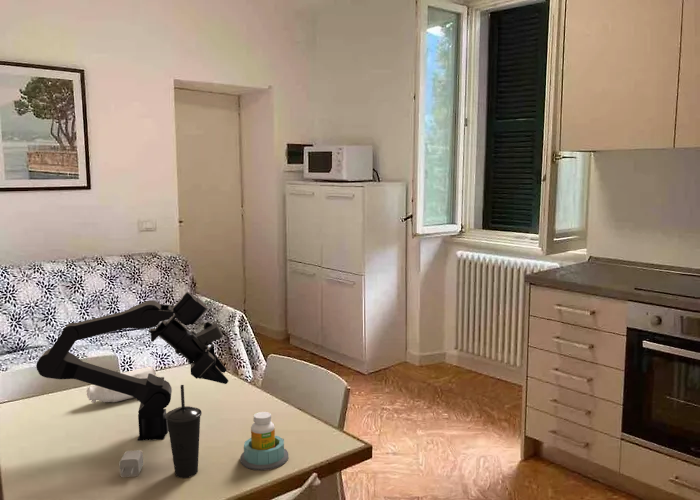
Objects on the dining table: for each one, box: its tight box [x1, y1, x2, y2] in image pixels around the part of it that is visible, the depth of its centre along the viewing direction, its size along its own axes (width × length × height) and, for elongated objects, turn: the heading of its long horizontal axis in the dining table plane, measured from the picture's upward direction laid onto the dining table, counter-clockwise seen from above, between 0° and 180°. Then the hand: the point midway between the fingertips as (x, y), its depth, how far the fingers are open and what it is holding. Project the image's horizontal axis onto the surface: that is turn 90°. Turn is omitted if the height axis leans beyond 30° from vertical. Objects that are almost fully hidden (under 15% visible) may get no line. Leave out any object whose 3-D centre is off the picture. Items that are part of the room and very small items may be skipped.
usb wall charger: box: [118, 449, 144, 478], centre depth 133 cm, size 4×7×4 cm, turn 7°
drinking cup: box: [165, 384, 202, 479], centre depth 133 cm, size 8×8×20 cm
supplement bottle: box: [250, 411, 276, 450], centre depth 139 cm, size 5×5×10 cm
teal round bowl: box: [239, 435, 289, 471], centre depth 140 cm, size 11×11×4 cm
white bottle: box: [86, 366, 157, 404], centre depth 179 cm, size 8×19×8 cm, turn 129°
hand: (226, 376), depth 156 cm, fingers open, 9 cm apart
